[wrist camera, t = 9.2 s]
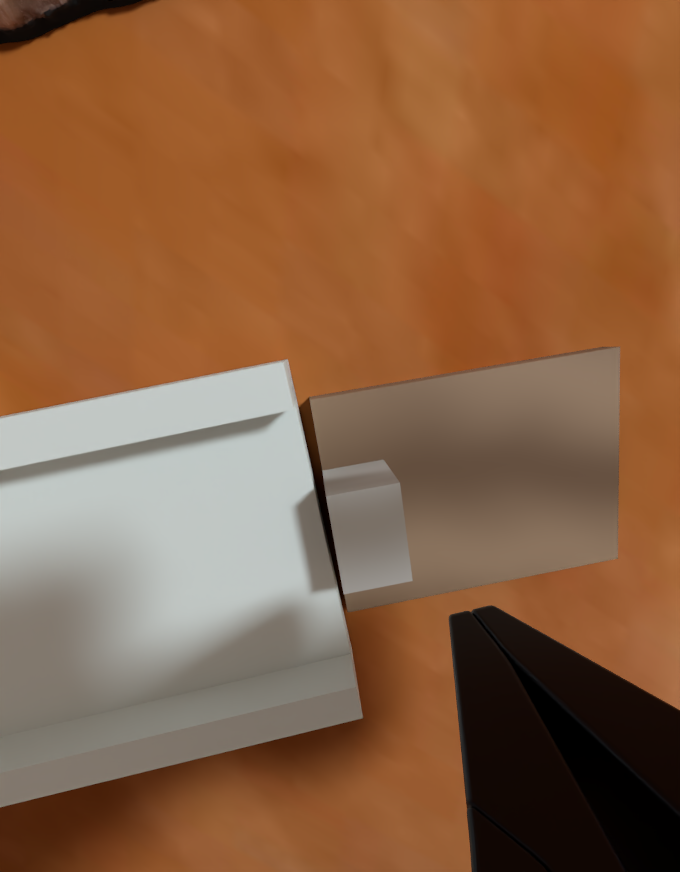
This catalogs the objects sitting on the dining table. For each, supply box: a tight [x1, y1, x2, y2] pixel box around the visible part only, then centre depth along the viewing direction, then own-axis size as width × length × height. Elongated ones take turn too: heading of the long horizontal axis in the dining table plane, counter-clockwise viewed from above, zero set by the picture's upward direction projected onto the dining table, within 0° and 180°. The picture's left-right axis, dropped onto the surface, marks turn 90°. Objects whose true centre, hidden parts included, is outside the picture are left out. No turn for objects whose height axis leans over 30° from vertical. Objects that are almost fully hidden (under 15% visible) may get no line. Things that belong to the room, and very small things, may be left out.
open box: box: [0, 359, 363, 807], centre depth 12 cm, size 11×17×3 cm, turn 101°
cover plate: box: [309, 347, 620, 612], centre depth 12 cm, size 8×10×3 cm
